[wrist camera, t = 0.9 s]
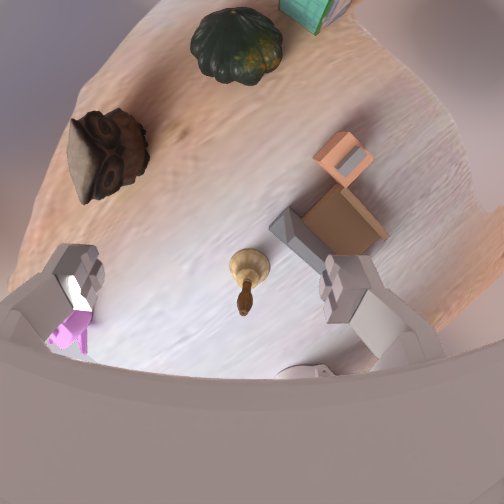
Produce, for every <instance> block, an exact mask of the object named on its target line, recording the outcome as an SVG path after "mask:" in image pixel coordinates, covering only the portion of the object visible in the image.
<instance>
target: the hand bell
mask: <svg viewBox="0 0 504 504" xmlns="http://www.w3.org/2000/svg"><path fill="white" fill-rule="evenodd" d="M229 268H230V272H231V274H232V276H233V277H234V279H235V280H236V281H237V284H238V285H239V286H240V287H241V288H242V292H241V293H240V294H239V296H238V300H237V307H238V310H239V312H240V315H241V316H246V315H247V314H248V312H249V311H250V309H251V307H252V304H253V298H252V294H251V289H253V288H255V287H256V286H257V285H258V284H259V283H261V282H262V281H264V280H265V279H266V277H267V276H268V274H269V270H270V266H269V262H268V259H267V258H266V257H265V255H263V254H262V253H261V252H259V251H257V250H253V249H244V250H241V251H239V252H237V253H236V254H235V255H234V256H233V257H232V259H231V261H230V265H229Z"/></svg>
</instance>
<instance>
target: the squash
mask: <svg viewBox="0 0 504 504" xmlns="http://www.w3.org/2000/svg"><path fill="white" fill-rule="evenodd" d="M281 44H282V34H281V33H280V31H279V30H278V29H277V28H276V27H274V24H273V23H272V21H271V20H270V19H269V18H267V17H265V16H264V15H262V14H261V13H259V12H257V11H256V10H254V9H252V8H247V7H237V8H226V9H223V10H221V11H216V12H213V13H211V14H209V15H207V16H206V17H204V18H203V19H202V20H201V23H200V25H199V27H198V28H197V29H196V31H195V33H194V35H193V37H192V39H191V46H190V50H191V53H192V54H193V55H194V56H195V57H196V58H197V59H198V64H199V68H200V70H201V72H202V73H203V74H204V75H206V76H210V77H215V79H216V80H217V81H218V82H220V83H224V84H228V83H231V82H233V81H237V82H239V83H242V84H244V85H247V86H253V85H256V84H257V83H258V82H259V81H260V79H261V78H262V76H263V74H264V73H269V72H272V71H274V70H275V69H276V68H277V67H278V66H279V64H280V62H281V59H282V47H281Z"/></svg>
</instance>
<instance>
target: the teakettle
mask: <svg viewBox="0 0 504 504" xmlns="http://www.w3.org/2000/svg"><path fill="white" fill-rule="evenodd" d="M91 318H92V312H91V311H85V310H77V309H74V311H73V312H72V313H71V314H70V315H69V316H68V317H67V318H66V319H65V320H64V321H63V322H62V323H61V324H60V325H59V326H58V327H57V328H56V330H55V331H54V332H53V333H52V334H51V335H50V336H49V338H50V339H49V341H48V343H49V344H50V345H52V344H53V343H55V344H56V345H58V346H59V347H60V348H61V349H65V348H67V347H68V346H69V345H70V344H72V343H73V342H74V341H75V340H76V339H77V340H78V343H79V346H80V350H81V353H83V354H84V355H86V354H87V329H86V328H87V327H88V325H89V323H90V321H91Z"/></svg>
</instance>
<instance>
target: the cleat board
mask: <svg viewBox="0 0 504 504" xmlns="http://www.w3.org/2000/svg"><path fill="white" fill-rule="evenodd" d="M269 231H271V232H272V233H273V234H274V235H275V236H276V237H278V238H279V239H280V240H281V241H282V242H283V243H285V244H286V245H287V246H288V247H289V248H290V249H291V250H293V251H294V252H295V253H296V254H297V255H298V256H299V257H301V258H302V259H303V260H304V261H305V262H306V263H307V264H309V265H310V266H311V267H312V268H313V269H314V270H315V271H316V272H318V273H319V274H320V275H321V273H322V272H323V271H324V270H325V269H326V265H325V261H326V258H327V257H328V255H354V256H355V255H362V254H363V253H364V252H365V251H366V250H367V249H368V248H369V247H370V246H371V245H372V244H373V243H374V242H375V241H376V240H377V239H378V238H379V237H381V238H382V239H383V240H384V241H386V240H387V239H388V238H389V237H390V235H389V234H388V233H387V232H386V230H385V229H384V228H383V227H382V226H381V225H380V223H379V222H378V221H377V220H376V219H375V218H374V217H373V215H372V214H371V213H370V212H369V211H368V210H367V209H366V208H365V206H364V205H363V204H362V203H361V202H360V201H359V200H358V199H357V198H356V197H355V196H354V195H353V193H352V192H351V191H350V190H349V189H348V188H345V187H343V186H342V185H341V184H339V183H338V182H337V183H336V184H335V185H334V186H333V187H332V188H331V189H330V190H329V191H328V192H327V193H326V194H325V195H324V196H323V197H322V198H321V199H320V200H319V201H318V202H317V203H316V204H315V205H314V206H313V207H312V208H311V209H310V210H309V211H308V212H307V213H306V214H305V215H304V216H303V217H302V218H301V217H300V216H299V215H298V214H297V213H295V212H294V211H293V210H292V209H291V208H290V207H289V206H288V207H287V208H286V209H285V210H284V211H283V212H282V213H281V214H280V216H279V217H278V218H277V219H276V220H275V221H274V222H273V223H272V224H271V225H270V226H269Z"/></svg>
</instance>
